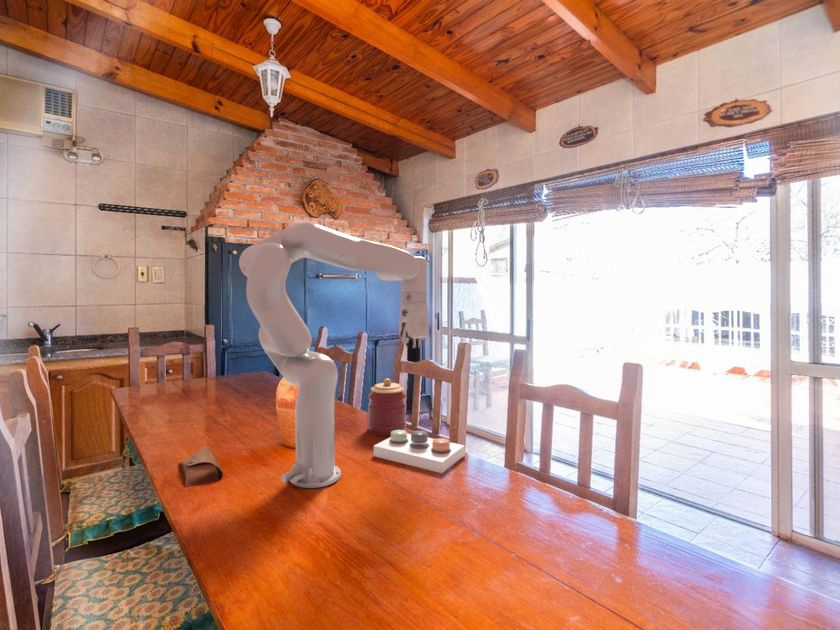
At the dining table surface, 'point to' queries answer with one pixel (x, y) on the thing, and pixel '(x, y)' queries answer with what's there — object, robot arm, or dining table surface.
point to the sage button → (398, 436)
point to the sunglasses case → (201, 468)
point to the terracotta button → (440, 444)
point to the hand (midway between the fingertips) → (413, 361)
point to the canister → (386, 408)
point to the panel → (419, 454)
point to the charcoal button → (419, 436)
